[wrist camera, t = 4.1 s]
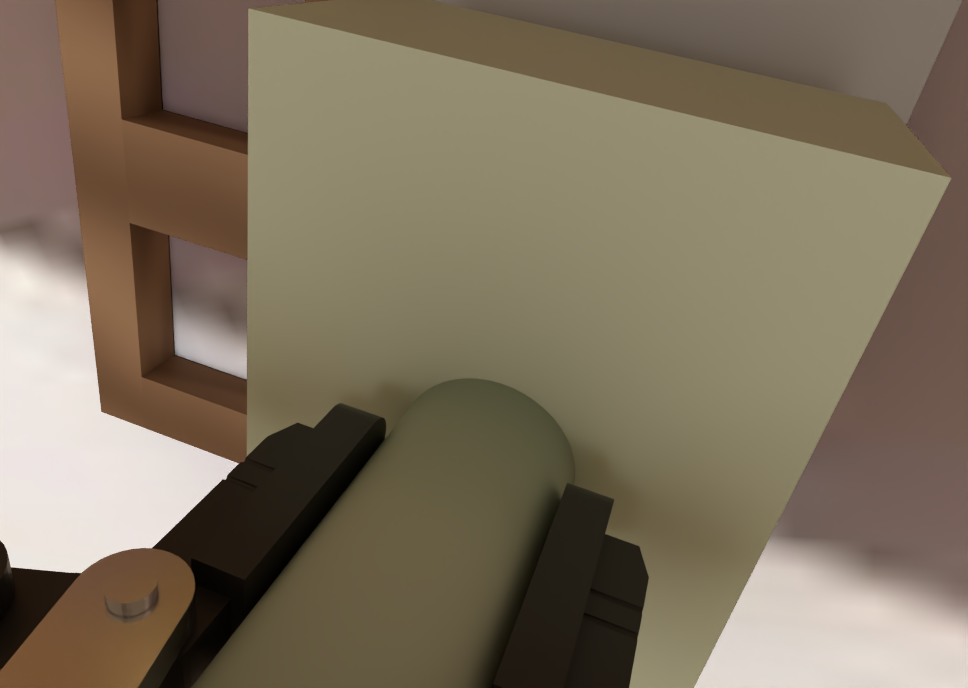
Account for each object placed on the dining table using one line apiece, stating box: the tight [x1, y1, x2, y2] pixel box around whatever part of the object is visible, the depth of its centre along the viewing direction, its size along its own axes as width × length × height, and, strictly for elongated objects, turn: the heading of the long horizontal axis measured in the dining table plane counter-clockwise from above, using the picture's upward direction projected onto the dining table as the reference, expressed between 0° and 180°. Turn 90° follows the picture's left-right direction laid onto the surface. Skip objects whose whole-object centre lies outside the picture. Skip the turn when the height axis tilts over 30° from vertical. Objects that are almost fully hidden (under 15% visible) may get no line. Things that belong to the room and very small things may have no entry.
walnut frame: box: [55, 0, 328, 463], centre depth 21 cm, size 18×9×2 cm, turn 170°
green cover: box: [191, 0, 951, 688], centre depth 12 cm, size 12×9×11 cm
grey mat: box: [432, 0, 962, 125], centre depth 19 cm, size 16×11×1 cm
